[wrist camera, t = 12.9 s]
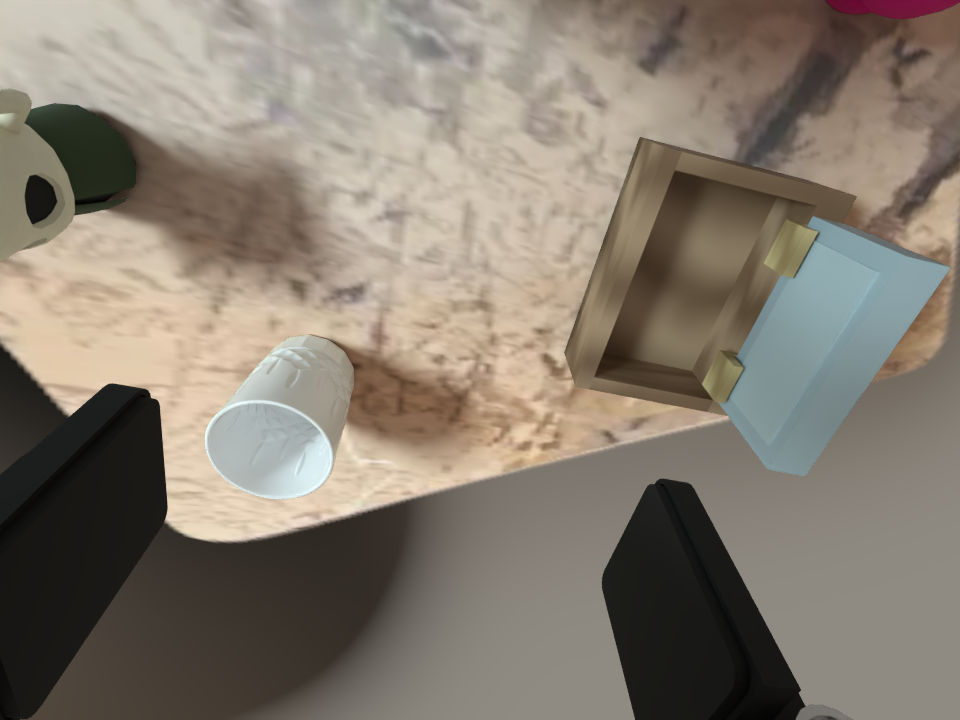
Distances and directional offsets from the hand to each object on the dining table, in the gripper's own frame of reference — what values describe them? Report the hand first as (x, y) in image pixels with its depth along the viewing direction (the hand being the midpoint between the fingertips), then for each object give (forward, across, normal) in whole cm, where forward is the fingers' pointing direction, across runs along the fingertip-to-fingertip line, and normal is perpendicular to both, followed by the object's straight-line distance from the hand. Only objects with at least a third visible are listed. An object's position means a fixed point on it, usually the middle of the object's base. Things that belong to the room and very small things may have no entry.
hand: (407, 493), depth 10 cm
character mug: (+28, +23, +3) cm, 37 cm away
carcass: (+28, -17, +2) cm, 33 cm away
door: (+23, -22, +2) cm, 32 cm away
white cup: (+28, +8, +16) cm, 34 cm away
